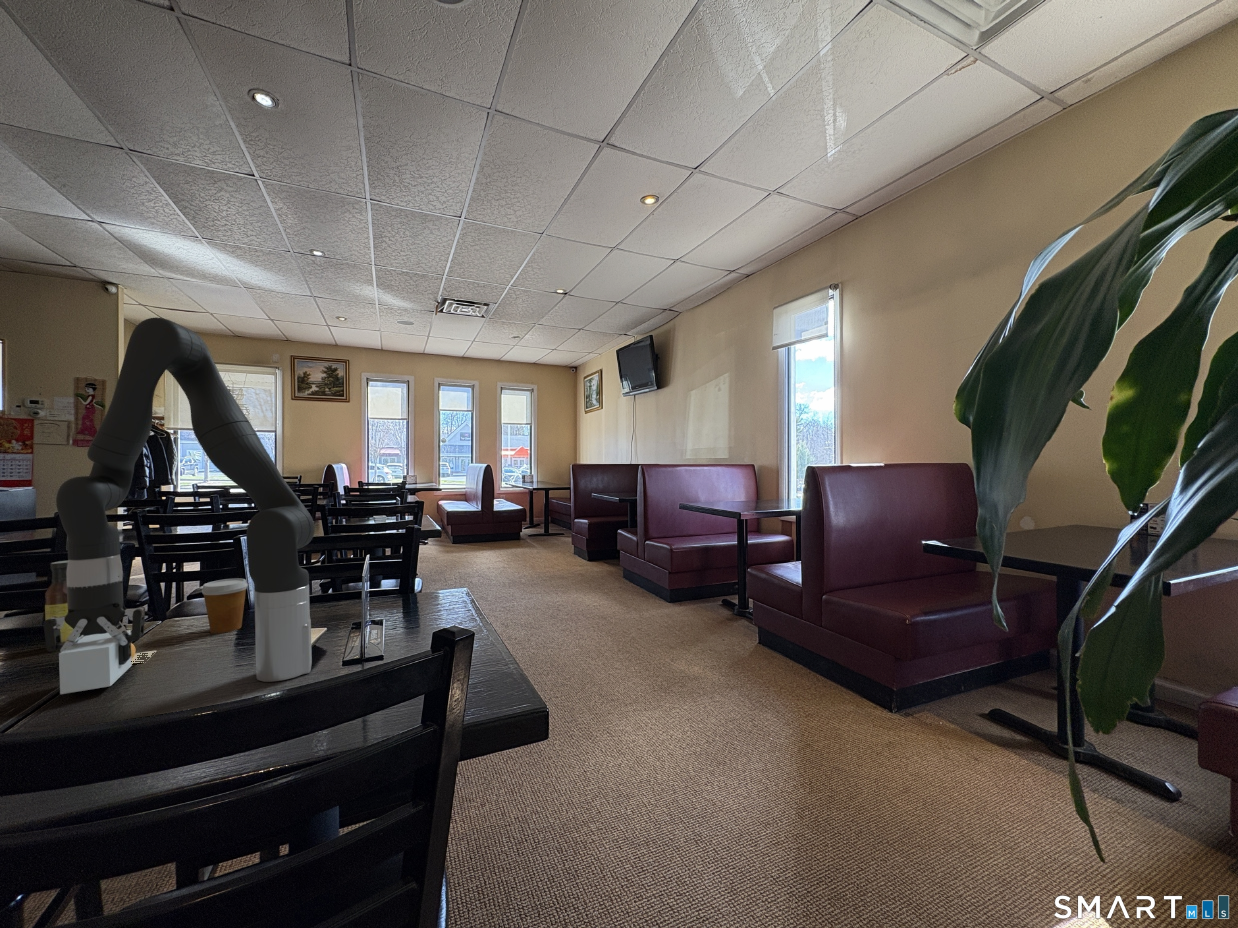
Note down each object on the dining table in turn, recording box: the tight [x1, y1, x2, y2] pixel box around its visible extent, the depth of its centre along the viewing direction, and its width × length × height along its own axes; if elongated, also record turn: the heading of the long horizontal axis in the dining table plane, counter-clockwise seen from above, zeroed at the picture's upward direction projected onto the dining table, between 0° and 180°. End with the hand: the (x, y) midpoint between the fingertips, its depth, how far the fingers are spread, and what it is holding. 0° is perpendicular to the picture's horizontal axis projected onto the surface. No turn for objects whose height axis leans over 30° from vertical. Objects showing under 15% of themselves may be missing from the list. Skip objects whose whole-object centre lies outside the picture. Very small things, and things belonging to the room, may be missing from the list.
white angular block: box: [58, 629, 133, 695], centre depth 100 cm, size 7×11×7 cm, turn 28°
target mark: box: [131, 649, 157, 664], centre depth 113 cm, size 8×8×1 cm
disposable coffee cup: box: [201, 578, 249, 634], centre depth 133 cm, size 10×10×12 cm
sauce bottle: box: [44, 560, 84, 643], centre depth 122 cm, size 7×6×20 cm
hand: (98, 666), depth 100 cm, fingers closed on white angular block, 6 cm apart
